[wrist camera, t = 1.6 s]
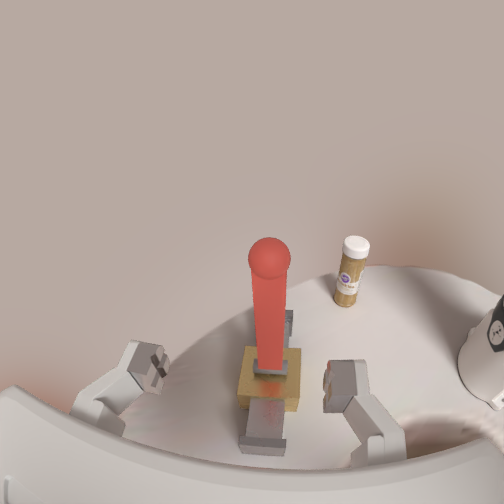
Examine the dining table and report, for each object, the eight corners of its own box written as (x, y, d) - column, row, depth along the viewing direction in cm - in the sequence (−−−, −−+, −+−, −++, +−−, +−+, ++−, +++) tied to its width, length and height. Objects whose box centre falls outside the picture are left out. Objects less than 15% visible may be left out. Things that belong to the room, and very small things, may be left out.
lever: (287, 360, 36) (296, 230, 24) (286, 382, 33) (296, 254, 21) (255, 358, 36) (245, 229, 24) (252, 380, 34) (238, 253, 22)
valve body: (299, 331, 46) (301, 310, 43) (293, 456, 28) (297, 448, 25) (252, 329, 47) (251, 308, 44) (232, 452, 29) (227, 443, 26)
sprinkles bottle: (330, 303, 51) (340, 245, 43) (337, 288, 54) (347, 231, 46) (352, 311, 49) (367, 252, 41) (358, 295, 52) (372, 238, 44)
